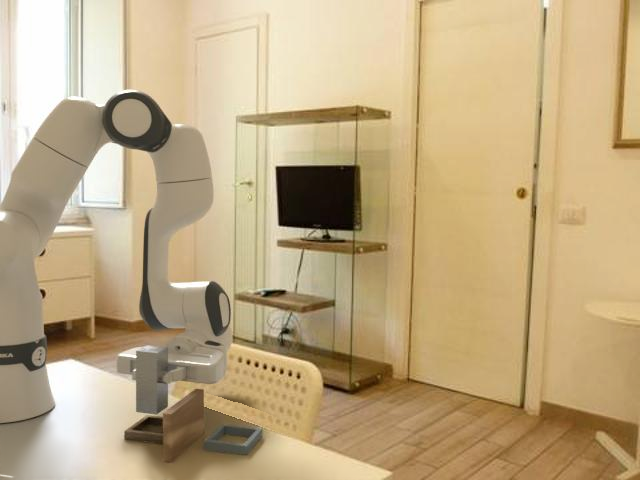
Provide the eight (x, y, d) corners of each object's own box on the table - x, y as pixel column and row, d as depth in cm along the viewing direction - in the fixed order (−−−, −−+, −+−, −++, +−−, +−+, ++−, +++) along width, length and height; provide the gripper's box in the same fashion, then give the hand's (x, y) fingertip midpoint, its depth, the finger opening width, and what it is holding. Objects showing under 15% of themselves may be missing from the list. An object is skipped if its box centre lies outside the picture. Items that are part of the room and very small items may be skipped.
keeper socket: (204, 449, 103) (204, 441, 103) (222, 431, 110) (222, 423, 110) (246, 455, 101) (246, 446, 101) (262, 436, 109) (262, 428, 108)
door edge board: (163, 461, 99) (162, 413, 98) (196, 431, 110) (195, 388, 109) (171, 462, 98) (171, 414, 98) (204, 432, 110) (203, 389, 109)
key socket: (124, 439, 107) (124, 431, 107) (147, 422, 114) (147, 414, 114) (164, 444, 105) (164, 435, 105) (184, 427, 112) (184, 419, 112)
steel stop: (136, 412, 108) (136, 350, 106) (147, 404, 111) (147, 344, 110) (156, 414, 107) (156, 352, 105) (167, 406, 110) (168, 347, 109)
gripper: (138, 335, 123) (97, 354, 110) (233, 345, 118) (202, 366, 105) (138, 366, 124) (97, 388, 110) (233, 377, 119) (202, 401, 105)
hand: (149, 377), depth 108 cm, fingers closed on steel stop, 4 cm apart
